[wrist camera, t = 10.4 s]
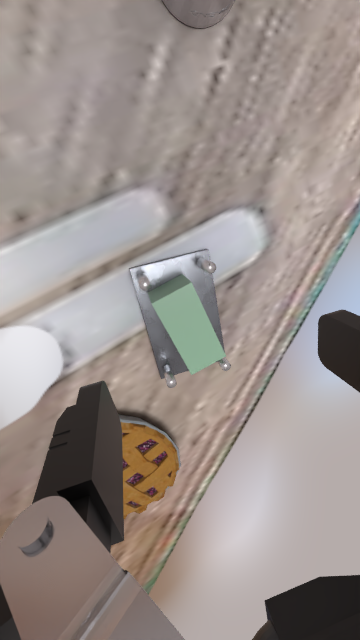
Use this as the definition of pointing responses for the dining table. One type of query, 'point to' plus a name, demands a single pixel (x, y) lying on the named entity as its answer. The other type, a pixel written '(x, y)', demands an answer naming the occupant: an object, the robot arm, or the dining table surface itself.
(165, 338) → the chassis
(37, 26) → the dining table surface
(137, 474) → the pie
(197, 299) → the board
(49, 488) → the robot arm
